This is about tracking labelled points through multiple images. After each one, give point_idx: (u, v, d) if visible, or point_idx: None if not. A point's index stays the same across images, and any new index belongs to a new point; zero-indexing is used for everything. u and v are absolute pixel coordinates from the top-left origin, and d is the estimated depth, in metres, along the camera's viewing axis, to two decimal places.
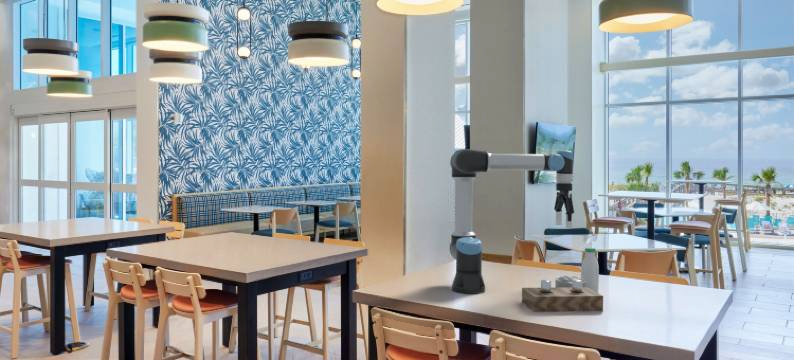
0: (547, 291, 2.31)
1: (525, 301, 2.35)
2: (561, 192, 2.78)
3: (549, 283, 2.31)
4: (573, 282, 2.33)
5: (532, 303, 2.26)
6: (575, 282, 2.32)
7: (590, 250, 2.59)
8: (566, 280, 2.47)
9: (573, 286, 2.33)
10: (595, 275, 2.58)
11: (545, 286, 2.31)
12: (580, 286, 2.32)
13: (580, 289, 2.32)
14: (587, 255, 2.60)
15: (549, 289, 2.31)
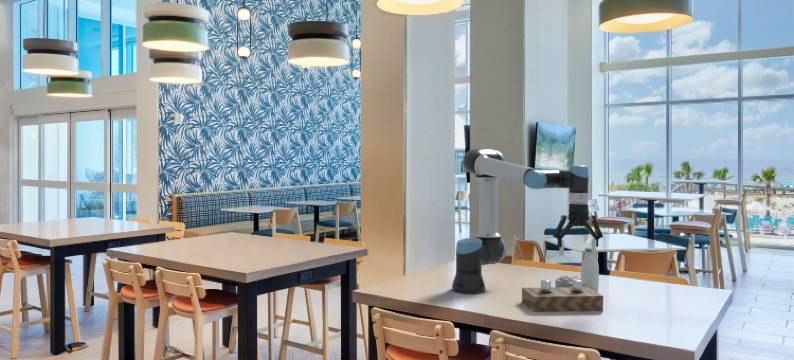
0: (547, 291, 2.31)
1: (525, 301, 2.35)
2: None
3: (549, 283, 2.31)
4: (573, 282, 2.33)
5: (532, 303, 2.26)
6: (575, 282, 2.32)
7: (590, 250, 2.59)
8: (566, 280, 2.47)
9: (573, 286, 2.33)
10: (595, 275, 2.58)
11: (545, 286, 2.31)
12: (580, 286, 2.32)
13: (580, 289, 2.32)
14: (587, 255, 2.60)
15: (549, 289, 2.31)
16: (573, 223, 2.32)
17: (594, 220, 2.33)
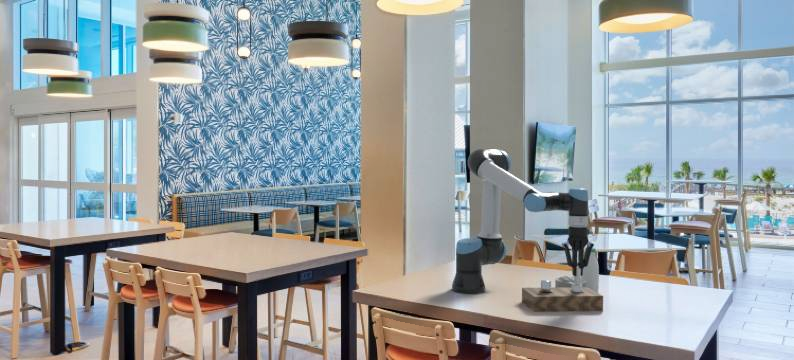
0: (547, 291, 2.31)
1: (525, 301, 2.35)
2: None
3: (549, 283, 2.31)
4: (573, 286, 2.33)
5: (532, 303, 2.26)
6: (575, 286, 2.32)
7: None
8: (566, 280, 2.47)
9: (573, 290, 2.33)
10: (595, 275, 2.58)
11: (545, 286, 2.31)
12: (580, 290, 2.32)
13: None
14: None
15: (549, 289, 2.31)
16: (576, 247, 2.32)
17: (590, 248, 2.33)
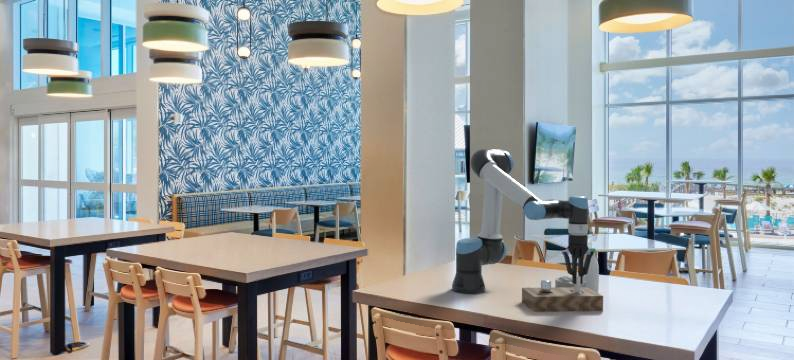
0: (547, 291, 2.31)
1: (525, 301, 2.35)
2: None
3: (549, 283, 2.31)
4: None
5: (532, 303, 2.26)
6: None
7: None
8: (566, 280, 2.47)
9: None
10: (595, 275, 2.58)
11: (545, 286, 2.31)
12: None
13: None
14: None
15: (549, 289, 2.31)
16: (576, 255, 2.32)
17: (590, 255, 2.33)
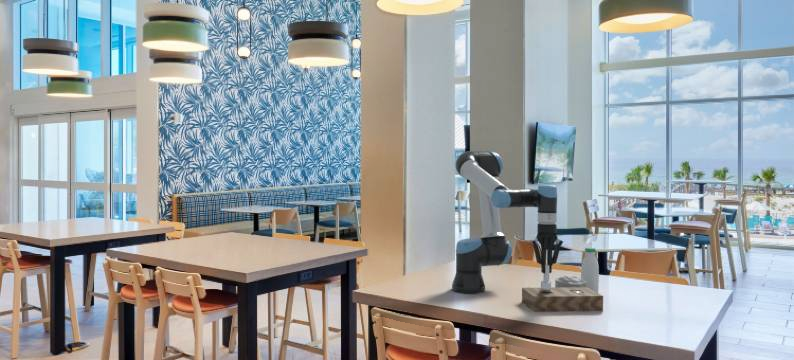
0: (547, 292, 2.31)
1: (525, 301, 2.35)
2: None
3: (549, 284, 2.31)
4: None
5: (532, 303, 2.26)
6: None
7: (590, 250, 2.59)
8: (566, 280, 2.47)
9: None
10: (595, 275, 2.58)
11: (545, 286, 2.31)
12: None
13: None
14: (587, 255, 2.60)
15: (549, 290, 2.31)
16: (545, 244, 2.31)
17: (559, 245, 2.32)
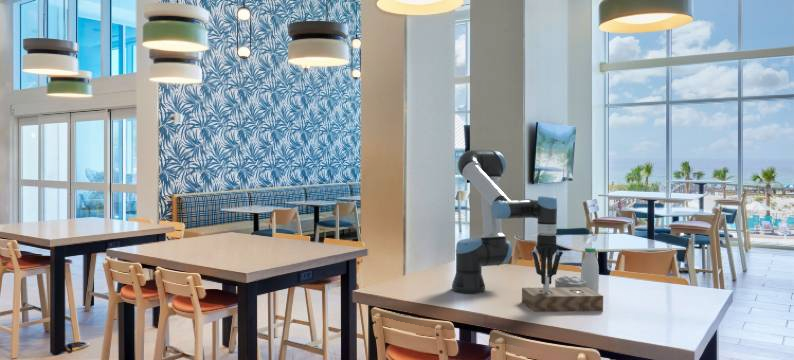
0: None
1: (525, 301, 2.35)
2: None
3: None
4: None
5: (532, 303, 2.26)
6: None
7: (590, 250, 2.59)
8: (566, 280, 2.47)
9: None
10: (595, 275, 2.58)
11: None
12: None
13: None
14: (587, 255, 2.60)
15: None
16: (544, 256, 2.31)
17: (559, 256, 2.32)
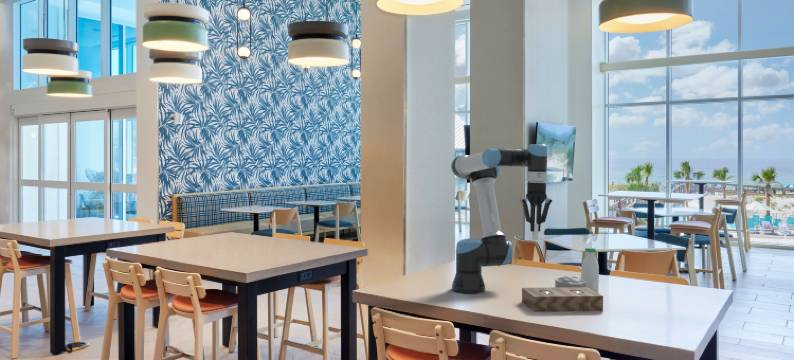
0: None
1: (525, 301, 2.35)
2: None
3: None
4: None
5: (532, 303, 2.26)
6: None
7: (590, 250, 2.59)
8: (566, 280, 2.47)
9: None
10: (595, 275, 2.58)
11: None
12: None
13: None
14: (587, 255, 2.60)
15: None
16: (534, 203, 2.32)
17: (548, 203, 2.33)
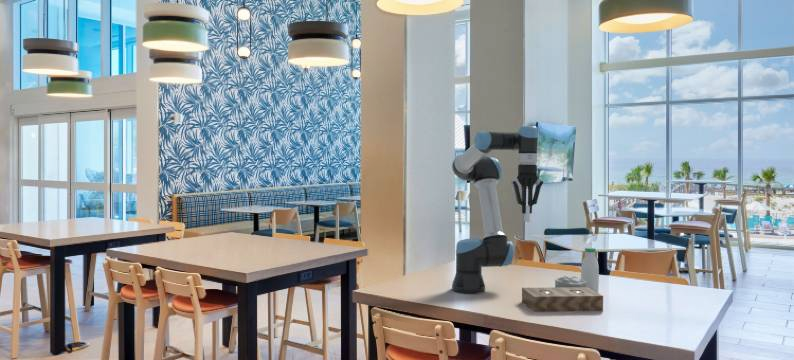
0: None
1: (525, 301, 2.35)
2: None
3: None
4: None
5: (532, 303, 2.26)
6: None
7: (590, 250, 2.59)
8: (567, 280, 2.46)
9: None
10: (595, 275, 2.58)
11: None
12: None
13: None
14: (587, 255, 2.60)
15: None
16: (525, 185, 2.32)
17: (539, 185, 2.33)
